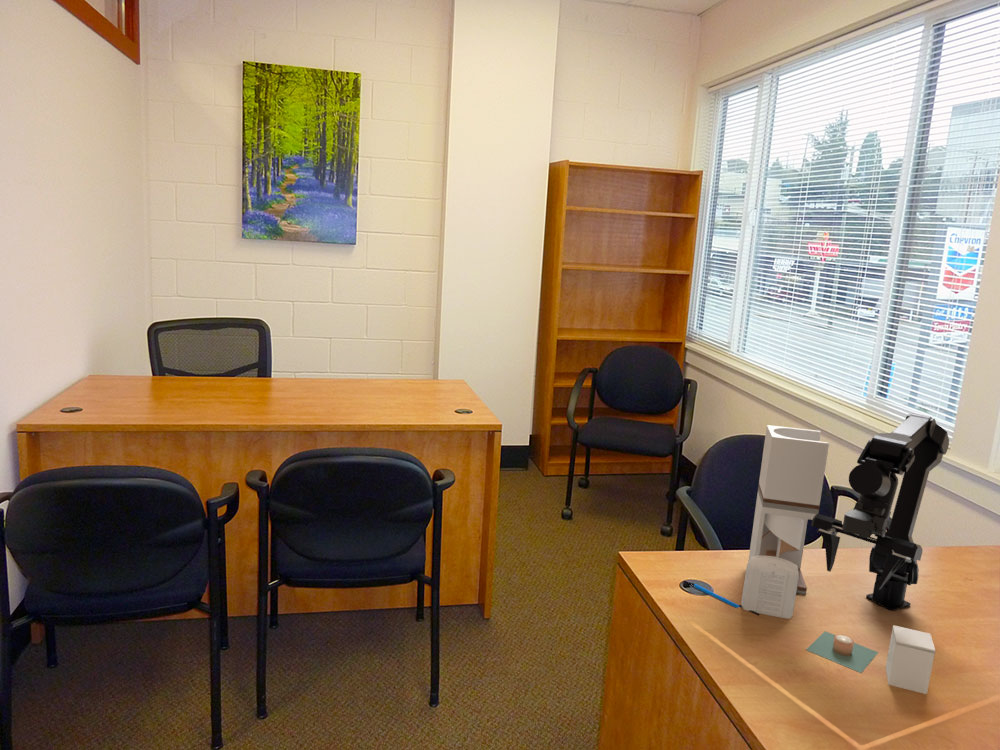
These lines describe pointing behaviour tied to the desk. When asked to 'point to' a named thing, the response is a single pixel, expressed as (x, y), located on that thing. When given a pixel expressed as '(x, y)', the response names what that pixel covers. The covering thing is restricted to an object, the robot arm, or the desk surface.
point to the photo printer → (770, 586)
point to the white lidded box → (910, 659)
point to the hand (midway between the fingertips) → (853, 579)
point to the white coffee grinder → (788, 493)
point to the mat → (855, 661)
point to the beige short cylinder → (843, 645)
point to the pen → (719, 597)
